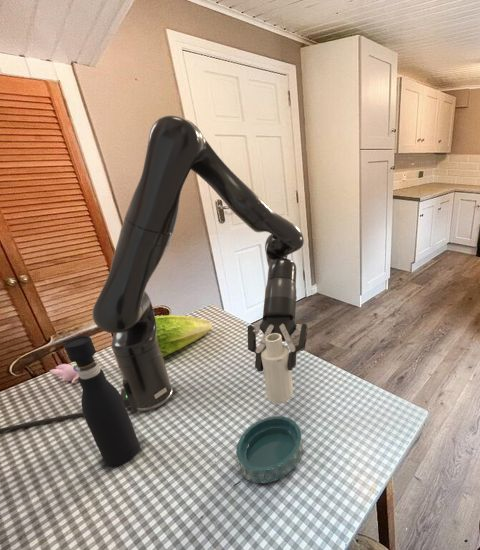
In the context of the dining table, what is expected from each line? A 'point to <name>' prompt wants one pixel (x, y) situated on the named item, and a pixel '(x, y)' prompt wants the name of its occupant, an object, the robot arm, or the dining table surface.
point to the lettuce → (179, 331)
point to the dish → (269, 449)
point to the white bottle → (276, 369)
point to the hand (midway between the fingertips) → (275, 370)
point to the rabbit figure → (66, 372)
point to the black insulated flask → (102, 406)
